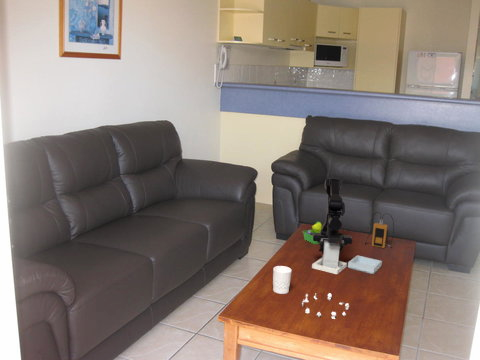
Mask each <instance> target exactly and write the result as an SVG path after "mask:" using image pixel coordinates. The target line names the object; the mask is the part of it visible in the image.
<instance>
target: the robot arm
mask: <svg viewBox="0 0 480 360" xmlns="http://www.w3.org/2000/svg"><path fill="white" fill-rule="evenodd" d="M342 183H343V180H341V179H340V178H338V177H337V178H336V177H329V178H327V179H325V181H324V188H325V191H326V193H327V200H326V201H327V202H326V212H325V213H326V215H325V221H324V223H323V224H321V225H322V227H321V231H320V233H315V232H314V233H313V241H317V243H319V245H320V248H319V249H318V251H319V252H321V254H322V255H323V253H324V249H323V246H324V241H328V242H329V243H335V244H338V243H339V246H340V249H339V256H340V255H341V253H342V250H343V249H344V247H345V246H347V245H353V237H352V236H351V235H349V234H344V233H340V229H342V225H343V223H342V220H341V216H344V214H345V213H346V212H345V211H346V210H345V209H346V205H345V202H343V197H341V195H340V189H342Z"/></svg>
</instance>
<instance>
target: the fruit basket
mask: <svg viewBox="0 0 480 360" xmlns="http://www.w3.org/2000/svg"><path fill="white" fill-rule="evenodd" d="M322 225H323V224H322V222H320V221H316V222H315V224H313V225H312V226H311V229H308V230H307V229H306V230H302V234H303V239H304V241H306V240H307V241H306V242H308V241H309V243H310V242H311V244H312V243H313V244H312V245H318V244H319V243H317V241H313V233H314V232H315V233H320V231H321V229H322ZM319 245H320V244H319Z"/></svg>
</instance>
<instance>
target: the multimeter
mask: <svg viewBox="0 0 480 360" xmlns="http://www.w3.org/2000/svg"><path fill="white" fill-rule="evenodd" d="M377 213H378V214H380V215H382V213H381V212H380V211H376V212H375V213H374V214H373V216H372V220H371V223H372V224H371V225H372V226H371V231H370V233H369V234H368V237H367V239H366V241H365V242H364V243H365V244H364V245H367V244H368V242H367V240H368V239H369V237H370V235H371V232H372V240H371V246H372V247H377V248H382V249H385V247H386V246H388V247H390V248H391V249H392V248H393V247H392V245H391V244H392V242H393V240H391V242H390V245H389V244H387V241H388V235H389V230H388V229H389V227H388V224H385V223H383V222H384V221H383V220H384V219H383V218H384V217H385V215H386V213H384V214H383V215H382V216H381V217H380V219H379V222H375V223H374V216H375V215H376V214H377ZM388 215H389V216H390V217H391V220H392V223H393V227H395V223H394V218H393V217H392V215H391V214H389V213H388ZM373 223H374V224H373ZM372 230H373V231H372ZM394 233H395V228H393V232H392V234H394ZM391 237H392V238H391V239H393V238H394V235H392V236H391Z"/></svg>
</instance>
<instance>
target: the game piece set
mask: <svg viewBox="0 0 480 360" xmlns="http://www.w3.org/2000/svg"><path fill="white" fill-rule="evenodd" d="M308 297H309V294H305V299H303V300H302V302H301V305H302V306H304V303H309V300H308ZM313 299H314V300H318V298H317V293H315V294H314V296H313ZM327 300H328V301H331V300H332V293H330V292H329V293H328V294H327ZM338 304H339V305H341V306H343V304H345V305H344V306H345V310H346V311H348V310H349V307H350V305H349V303H344V302H339V303H338ZM304 310H305V313H306V314H310V308H306V309H304ZM341 314H342V316H344V317H345V316H346V315H347V313H346V312H345V311H343V312H342V313H341ZM316 316H317V317H318V318H320V317H322V314H321V312H320V311H318V312H317V314H316ZM336 316H337V312H336V311H332V312H331V319H334V320H335V319H336Z"/></svg>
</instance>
